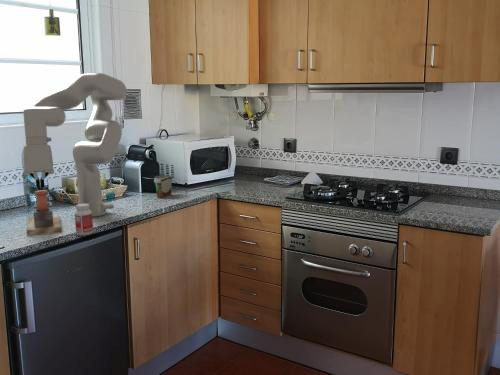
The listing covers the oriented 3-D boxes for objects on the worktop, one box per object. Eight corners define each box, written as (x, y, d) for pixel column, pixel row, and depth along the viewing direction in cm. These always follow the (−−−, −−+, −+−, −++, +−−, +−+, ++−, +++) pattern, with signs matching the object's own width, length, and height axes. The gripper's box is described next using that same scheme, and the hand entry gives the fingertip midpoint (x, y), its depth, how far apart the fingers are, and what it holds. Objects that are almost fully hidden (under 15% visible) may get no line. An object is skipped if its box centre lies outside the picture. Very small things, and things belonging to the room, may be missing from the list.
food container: (162, 193, 274) (161, 174, 272) (172, 194, 272) (172, 175, 270) (150, 198, 262) (149, 178, 261) (161, 199, 260) (160, 179, 259)
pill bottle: (95, 231, 202) (93, 202, 200) (90, 235, 196) (88, 206, 194) (79, 231, 203) (77, 203, 201) (73, 236, 197) (71, 206, 195)
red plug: (49, 212, 207) (47, 189, 205) (49, 214, 203) (47, 191, 201) (37, 213, 205) (35, 190, 204) (37, 215, 201) (34, 192, 200)
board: (59, 219, 222) (58, 200, 221) (61, 232, 202) (59, 211, 201) (28, 222, 218) (27, 203, 217) (27, 235, 198) (25, 214, 197)
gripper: (57, 139, 205) (61, 186, 208) (15, 141, 200) (19, 189, 203) (58, 141, 198) (61, 189, 201) (14, 143, 193) (18, 193, 196)
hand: (40, 189), depth 202 cm, fingers closed
